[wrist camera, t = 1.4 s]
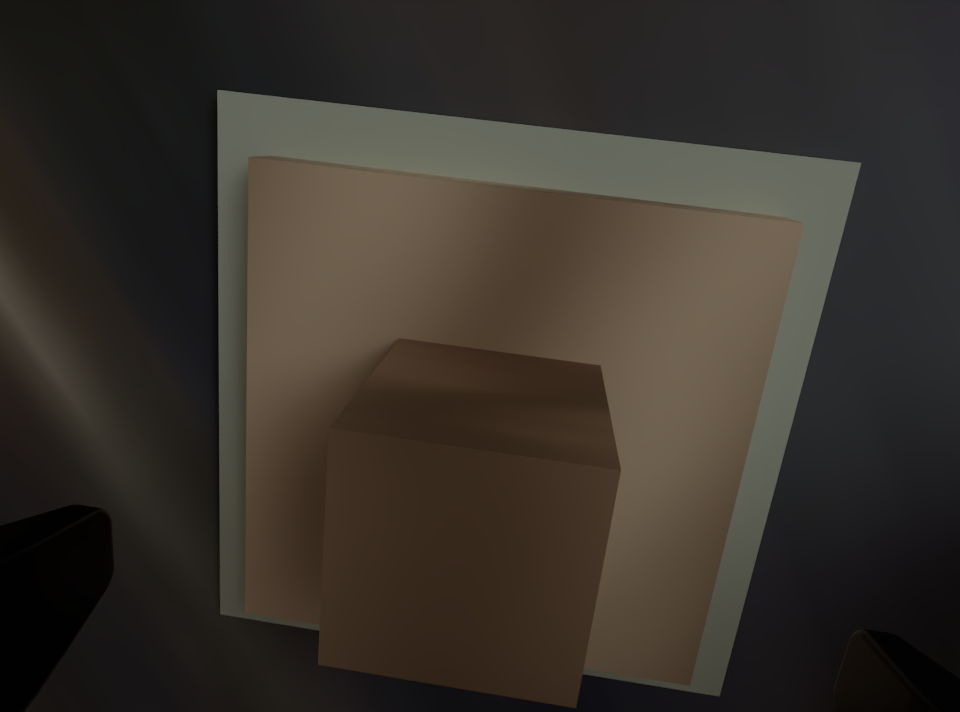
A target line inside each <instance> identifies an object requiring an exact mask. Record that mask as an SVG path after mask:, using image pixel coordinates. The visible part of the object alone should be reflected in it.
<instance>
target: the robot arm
mask: <svg viewBox="0 0 960 712" xmlns="http://www.w3.org/2000/svg"><path fill="white" fill-rule="evenodd" d="M113 570H114V556H113V540H112V523H111V517H110V515H109V513H108V512H107V511H106V510H104V509H102V508H96V507H90V506H84V505H78V504H77V505H69V506H65V507H62V508H59V509H55V510H52V511H49V512H45V513H42V514H39V515H35V516H32V517H29V518H25V519H22V520H19V521H15V522H12V523H9V524H5V525H2V526H0V712H25V710H26V709H27V708H28V706H29V705H30V704H31V702H32V701H33V700H34V698H35V697H36V696H37V694H38V693H39V691H40V690H41V688H42V687H43V686H44V684H45V683H46V681H47V680H48V678H49V677H50V675H51V674H52V672H53V671H54V669H55V668H56V666H57V665H58V663H59V661H60V660H61V658H62V657H63V655H64V654H65V652H66V651H67V649H68V648H69V646H70V645H71V643H72V641H73V640H74V638H75V637H76V635H77V634H78V632H79V631H80V629H81V628H82V626H83V625H84V623H85V621H86V620H87V618H88V617H89V615H90V614H91V612H92V611H93V609H94V608H95V606H96V605H97V603H98V601H99V600H100V598H101V597H102V595H103V594H104V592H105V591H106V589H107V587H108V586H109V583H110V581H111V579H112V575H113ZM834 707H835V711H836V712H960V679H959V678H958V677H956V676H955V675H953V674H952V673H950V672H949V671H947V670H946V669H945V668H943V667H942V666H940V665H939V664H937V663H936V662H934V661H933V660H932V659H930V658H929V657H927V656H926V655H924V654H923V653H922V652H920V651H919V650H917V649H916V648H914V647H913V646H911V645H910V644H909V643H907V642H906V641H904V640H903V639H901V638H900V637H898V636H897V635H894V634H891V633H886V632H879V631H873V630H866V629H859V630H857V631H855V632H854V633H853V634H852V635H851V637H850V640H849V642H848V645H847V648H846V651H845V654H844V657H843V661H842V664H841V667H840V670H839V673H838V676H837V679H836V682H835V686H834Z"/></svg>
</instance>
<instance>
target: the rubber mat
mask: <svg viewBox="0 0 960 712" xmlns="http://www.w3.org/2000/svg"><path fill="white" fill-rule="evenodd" d="M217 102H218V297H219V493H220V614H221V615H228V616H234V617H240V618H246V619H252V620H258V621H264V622H270V623H276V624H282V625H288V626H294V627H300V628H306V629H312V630H319V629H320V625H317V624H311V623H305V622H298V621H292V620H286V619H280V618H274V617H268V616H262V615H256V614H250V613H245V528H246V399H247V269H248V157H256V156H279V157H288V158H296V159H304V160H313V161H321V162H329V163H338V164H346V165H355V166H363V167H371V168H380V169H388V170H397V171H405V172H413V173H422V174H430V175H438V176H447V177H455V178H464V179H472V180H480V181H489V182H497V183H506V184H514V185H522V186H531V187H539V188H547V189H556V190H564V191H573V192H581V193H589V194H598V195H606V196H615V197H623V198H631V199H640V200H648V201H656V202H665V203H673V204H682V205H690V206H698V207H707V208H715V209H724V210H732V211H740V212H749V213H757V214H765V215H774V216H782V217H787V218H790V219H793V220H796V221H799V222H802V223H805V224H804V228H803V232H802V236H801V240H800V244H799V248H798V252H797V256H796V260H795V264H794V268H793V272H792V276H791V280H790V284H789V288H788V292H787V297H786V301H785V305H784V309H783V313H782V317H781V321H780V325H779V329H778V333H777V337H776V341H775V345H774V349H773V353H772V357H771V361H770V365H769V369H768V373H767V377H766V381H765V385H764V389H763V393H762V397H761V401H760V405H759V409H758V413H757V417H756V421H755V425H754V429H753V434H752V438H751V442H750V446H749V450H748V454H747V458H746V462H745V466H744V470H743V474H742V478H741V482H740V486H739V490H738V494H737V498H736V502H735V506H734V510H733V514H732V518H731V522H730V526H729V530H728V534H727V538H726V542H725V546H724V550H723V554H722V558H721V562H720V567H719V571H718V575H717V579H716V583H715V587H714V591H713V595H712V599H711V603H710V607H709V611H708V615H707V619H706V623H705V627H704V631H703V635H702V639H701V643H700V647H699V651H698V655H697V659H696V663H695V667H694V671H693V675H692V679H691V683H690V686H688V685H682V684H676V683H670V682H664V681H658V680H652V679H646V678H639V677H633V676H627V675H621V674H615V673H609V672H603V671H597V670H591V669H585V668H584V669H583V674H586V675H592V676H598V677H604V678H610V679H616V680H622V681H628V682H634V683H640V684H646V685H652V686H658V687H664V688H671V689H677V690H683V691H689V692H695V693H701V694H707V695H713V696H720V693H721V689H722V685H723V681H724V678H725V674H726V670H727V666H728V663H729V659H730V655H731V651H732V648H733V644H734V640H735V636H736V632H737V629H738V625H739V621H740V617H741V614H742V610H743V606H744V602H745V599H746V595H747V591H748V587H749V584H750V580H751V576H752V572H753V569H754V565H755V561H756V557H757V553H758V550H759V546H760V542H761V538H762V535H763V531H764V527H765V523H766V520H767V516H768V512H769V508H770V505H771V501H772V497H773V493H774V489H775V486H776V482H777V478H778V474H779V471H780V467H781V463H782V459H783V456H784V452H785V448H786V444H787V441H788V437H789V433H790V429H791V425H792V422H793V418H794V414H795V410H796V407H797V403H798V399H799V395H800V392H801V388H802V384H803V380H804V377H805V373H806V369H807V365H808V361H809V358H810V354H811V350H812V346H813V343H814V339H815V335H816V331H817V328H818V324H819V320H820V316H821V313H822V309H823V305H824V301H825V297H826V294H827V290H828V286H829V282H830V279H831V275H832V271H833V267H834V264H835V260H836V256H837V252H838V249H839V245H840V241H841V237H842V233H843V230H844V226H845V222H846V218H847V215H848V211H849V207H850V203H851V200H852V196H853V192H854V188H855V185H856V181H857V177H858V173H859V170H860V166H861V163H856V162H848V161H839V160H830V159H821V158H812V157H804V156H795V155H786V154H777V153H768V152H759V151H751V150H742V149H733V148H724V147H715V146H707V145H698V144H689V143H680V142H671V141H663V140H654V139H645V138H636V137H627V136H618V135H610V134H601V133H592V132H583V131H574V130H566V129H557V128H548V127H539V126H530V125H522V124H513V123H504V122H495V121H486V120H477V119H469V118H460V117H451V116H442V115H433V114H425V113H416V112H407V111H398V110H389V109H381V108H372V107H363V106H354V105H345V104H336V103H328V102H319V101H310V100H301V99H292V98H284V97H275V96H266V95H257V94H248V93H240V92H231V91H222V90H217Z"/></svg>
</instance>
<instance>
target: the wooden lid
mask: <svg viewBox="0 0 960 712" xmlns="http://www.w3.org/2000/svg"><path fill="white" fill-rule="evenodd" d="M804 224H805V223H802V222H799V221H796V220H793V219H790V218H787V217H782V216H774V215H765V214H757V213H749V212H740V211H732V210H724V209H715V208H707V207H698V206H690V205H682V204H673V203H665V202H656V201H648V200H640V199H631V198H623V197H615V196H606V195H598V194H589V193H581V192H573V191H564V190H556V189H547V188H539V187H531V186H522V185H514V184H506V183H497V182H489V181H480V180H472V179H464V178H455V177H447V176H438V175H430V174H422V173H413V172H405V171H397V170H388V169H380V168H371V167H363V166H355V165H346V164H338V163H329V162H321V161H313V160H304V159H296V158H288V157H279V156H256V157H248V269H247V399H246V528H245V613H250V614H256V615H262V616H268V617H274V618H280V619H286V620H292V621H298V622H305V623H311V624H317V625H320V629H319V650H318V665H322V666H328V667H334V668H340V669H346V670H352V671H358V672H363V673H369V674H375V675H381V676H387V677H393V678H399V679H405V680H411V681H417V682H423V683H429V684H435V685H441V686H447V687H453V688H459V689H465V690H471V691H477V692H482V693H488V694H494V695H500V696H506V697H512V698H518V699H524V700H530V701H536V702H542V703H548V704H554V705H560V706H566V707H572V708H576V706H577V701H578V695H579V690H580V685H581V680H582V674H583V669H584V668H585V669H591V670H597V671H603V672H609V673H615V674H621V675H627V676H633V677H639V678H646V679H652V680H658V681H664V682H670V683H676V684H682V685H688V686H690V683H691V679H692V675H693V671H694V667H695V663H696V659H697V655H698V651H699V647H700V643H701V639H702V635H703V631H704V627H705V623H706V619H707V615H708V611H709V607H710V603H711V599H712V595H713V591H714V587H715V583H716V579H717V575H718V571H719V567H720V562H721V558H722V554H723V550H724V546H725V542H726V538H727V534H728V530H729V526H730V522H731V518H732V514H733V510H734V506H735V502H736V498H737V494H738V490H739V486H740V482H741V478H742V474H743V470H744V466H745V462H746V458H747V454H748V450H749V446H750V442H751V438H752V434H753V429H754V425H755V421H756V417H757V413H758V409H759V405H760V401H761V397H762V393H763V389H764V385H765V381H766V377H767V373H768V369H769V365H770V361H771V357H772V353H773V349H774V345H775V341H776V337H777V333H778V329H779V325H780V321H781V317H782V313H783V309H784V305H785V301H786V297H787V292H788V288H789V284H790V280H791V276H792V272H793V268H794V264H795V260H796V256H797V252H798V248H799V244H800V240H801V236H802V232H803V228H804Z"/></svg>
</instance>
